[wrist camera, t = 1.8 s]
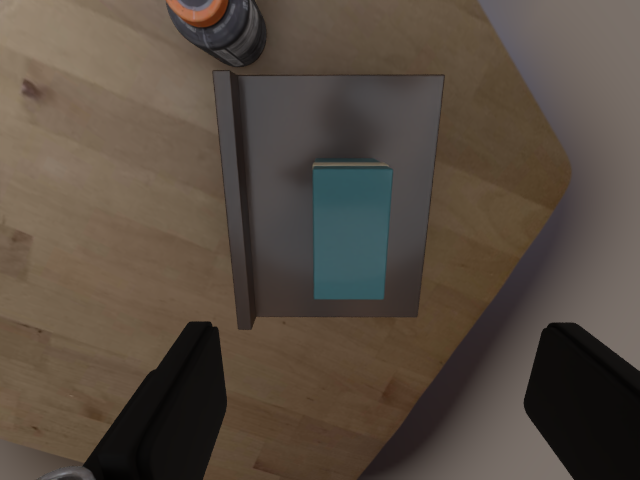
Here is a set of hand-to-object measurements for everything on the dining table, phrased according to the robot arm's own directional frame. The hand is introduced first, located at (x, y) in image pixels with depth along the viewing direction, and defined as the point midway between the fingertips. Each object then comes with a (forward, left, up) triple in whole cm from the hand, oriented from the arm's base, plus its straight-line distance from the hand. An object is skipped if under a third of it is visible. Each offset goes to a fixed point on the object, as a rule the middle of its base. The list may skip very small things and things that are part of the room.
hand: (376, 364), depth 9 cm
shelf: (+1, 0, -28) cm, 28 cm away
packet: (0, 0, -18) cm, 18 cm away
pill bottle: (+10, -15, -28) cm, 33 cm away
